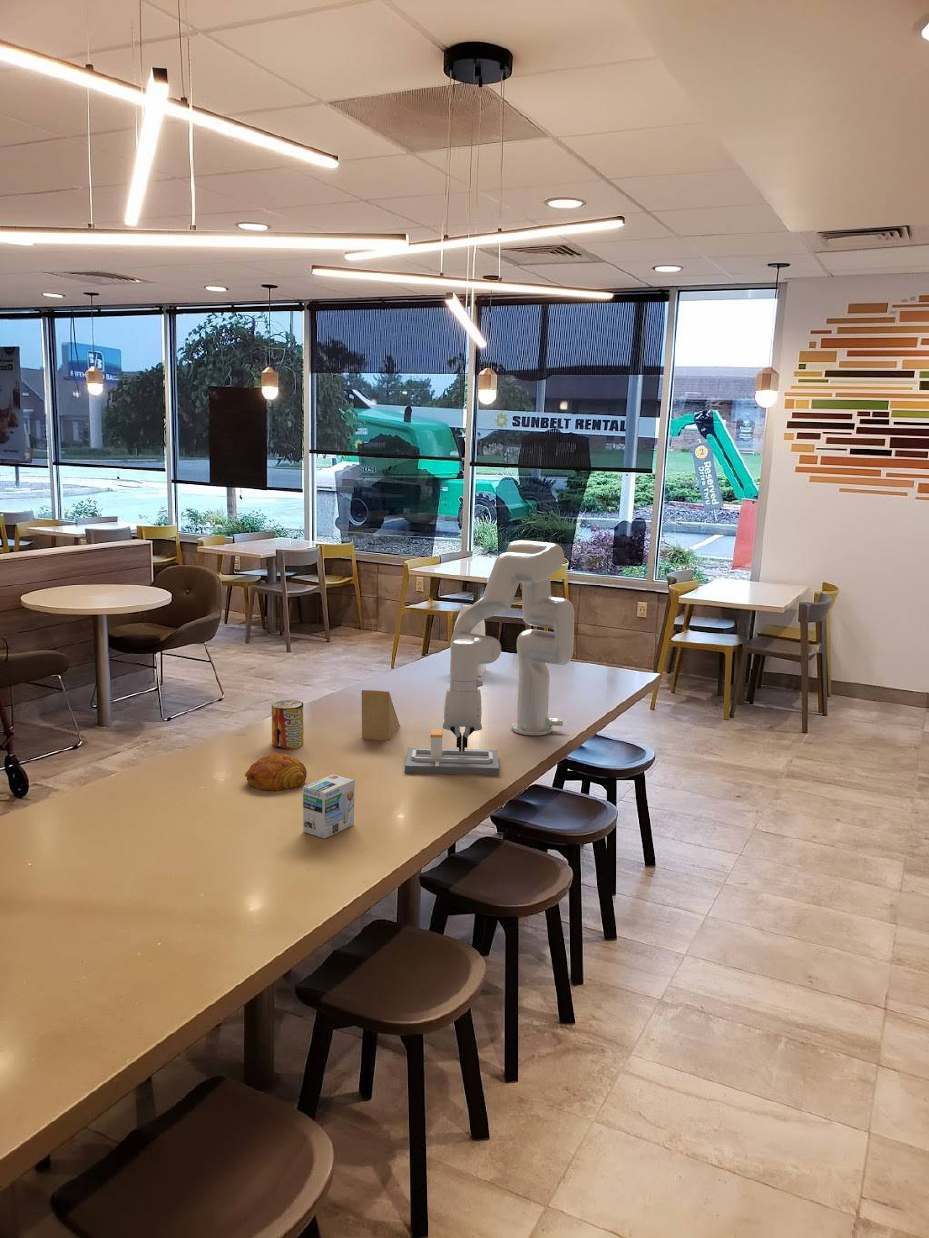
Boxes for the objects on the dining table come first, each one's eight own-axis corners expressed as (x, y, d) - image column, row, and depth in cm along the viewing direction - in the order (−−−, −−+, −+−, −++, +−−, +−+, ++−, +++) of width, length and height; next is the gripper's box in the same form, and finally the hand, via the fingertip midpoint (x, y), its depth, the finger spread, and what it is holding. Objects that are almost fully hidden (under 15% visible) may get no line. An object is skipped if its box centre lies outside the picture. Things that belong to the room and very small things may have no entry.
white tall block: (450, 674, 358) (452, 607, 353) (455, 667, 369) (457, 602, 364) (481, 676, 356) (483, 609, 351) (485, 669, 367) (487, 604, 362)
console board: (496, 756, 263) (496, 746, 262) (498, 775, 248) (499, 764, 247) (407, 754, 262) (408, 744, 262) (404, 772, 248) (405, 762, 247)
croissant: (283, 776, 249) (281, 746, 248) (316, 784, 238) (315, 753, 237) (235, 787, 239) (233, 756, 238) (267, 796, 228) (265, 763, 227)
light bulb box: (324, 839, 204) (325, 793, 202) (301, 832, 208) (301, 786, 206) (355, 824, 213) (355, 779, 211) (332, 817, 217) (332, 773, 215)
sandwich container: (401, 726, 289) (402, 679, 287) (389, 741, 275) (389, 691, 272) (374, 724, 291) (375, 677, 288) (361, 738, 276) (361, 689, 273)
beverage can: (265, 745, 266) (264, 705, 264) (285, 737, 274) (285, 698, 272) (290, 751, 262) (290, 710, 260) (310, 742, 270) (309, 702, 268)
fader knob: (442, 752, 257) (442, 729, 256) (441, 759, 252) (442, 734, 251) (430, 752, 257) (431, 729, 256) (430, 758, 252) (430, 734, 251)
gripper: (491, 682, 255) (488, 746, 258) (436, 680, 255) (435, 744, 258) (491, 689, 247) (489, 755, 251) (435, 687, 247) (433, 753, 251)
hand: (461, 749), depth 254 cm, fingers closed
